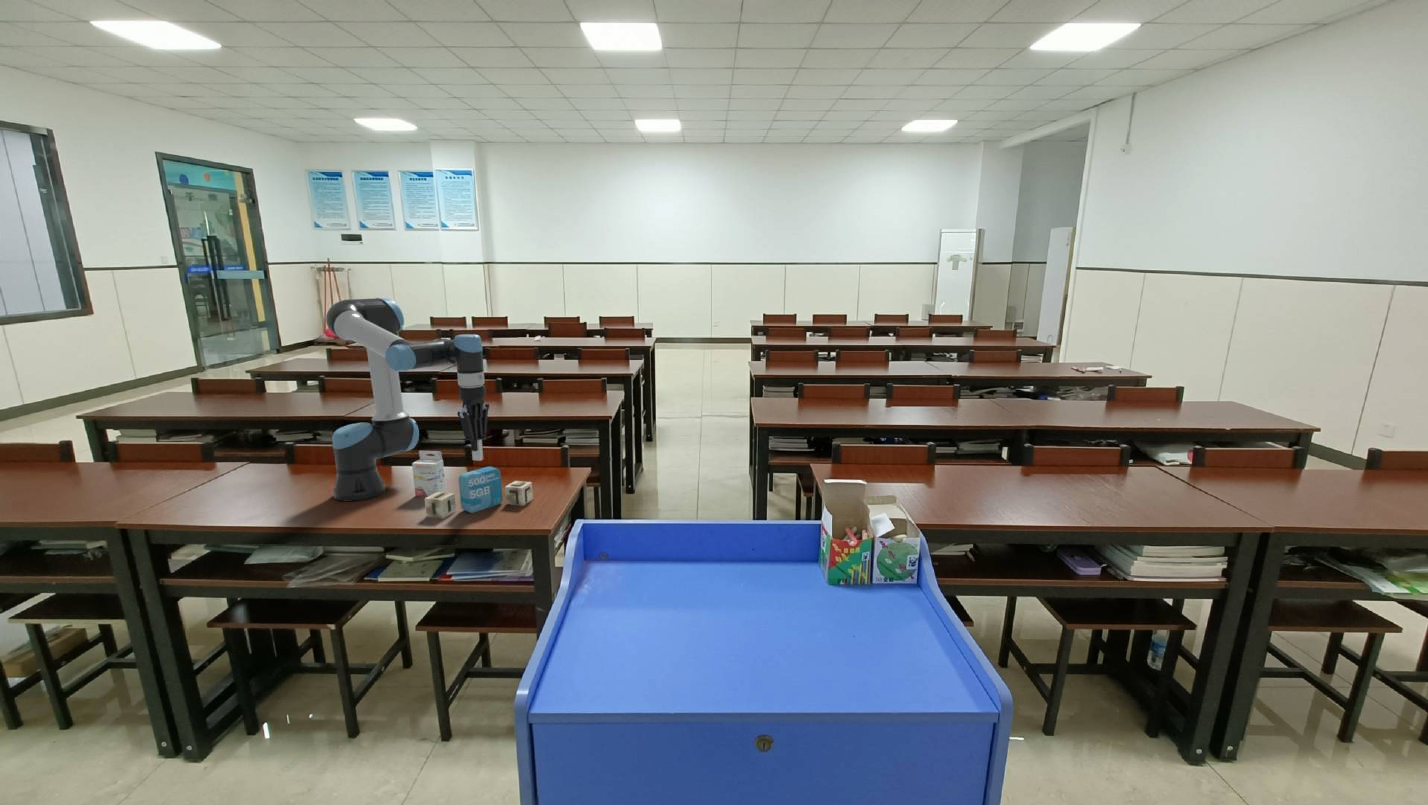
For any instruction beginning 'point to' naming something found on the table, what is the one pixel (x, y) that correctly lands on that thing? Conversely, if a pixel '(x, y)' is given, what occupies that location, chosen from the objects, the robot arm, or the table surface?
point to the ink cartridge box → (428, 474)
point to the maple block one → (440, 505)
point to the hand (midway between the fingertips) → (478, 459)
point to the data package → (480, 489)
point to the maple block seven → (519, 493)
